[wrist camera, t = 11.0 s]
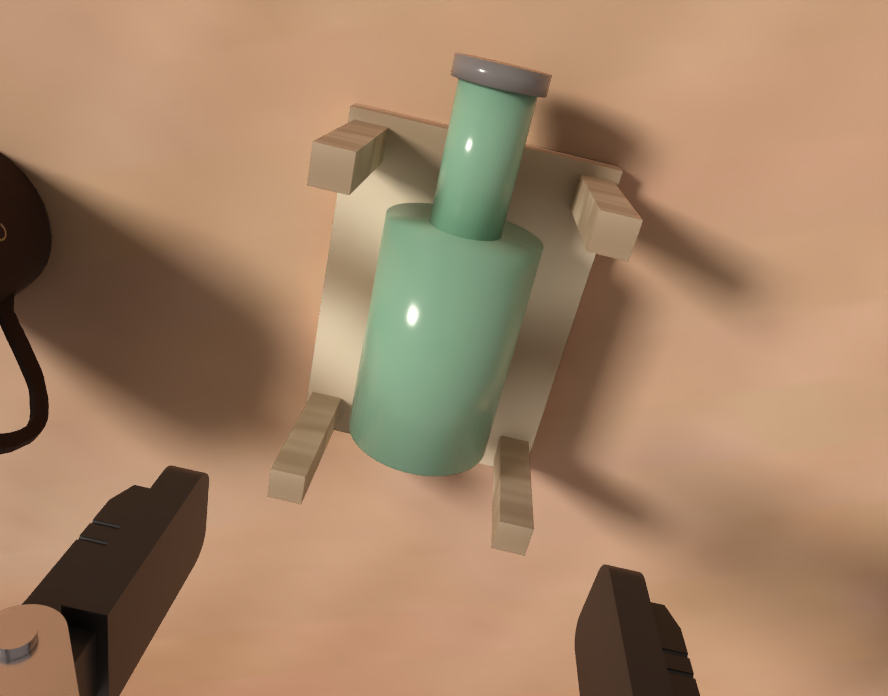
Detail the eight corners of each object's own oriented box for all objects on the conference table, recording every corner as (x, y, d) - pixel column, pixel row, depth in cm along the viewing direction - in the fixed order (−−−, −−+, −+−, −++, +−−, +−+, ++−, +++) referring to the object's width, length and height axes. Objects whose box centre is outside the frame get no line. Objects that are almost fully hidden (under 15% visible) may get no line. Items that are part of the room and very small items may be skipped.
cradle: (356, 103, 24) (307, 124, 18) (618, 166, 24) (655, 207, 18) (309, 411, 29) (260, 504, 23) (522, 460, 29) (527, 565, 24)
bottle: (419, 41, 22) (411, 46, 17) (574, 77, 22) (607, 91, 17) (358, 385, 27) (339, 460, 23) (483, 409, 28) (489, 487, 23)
